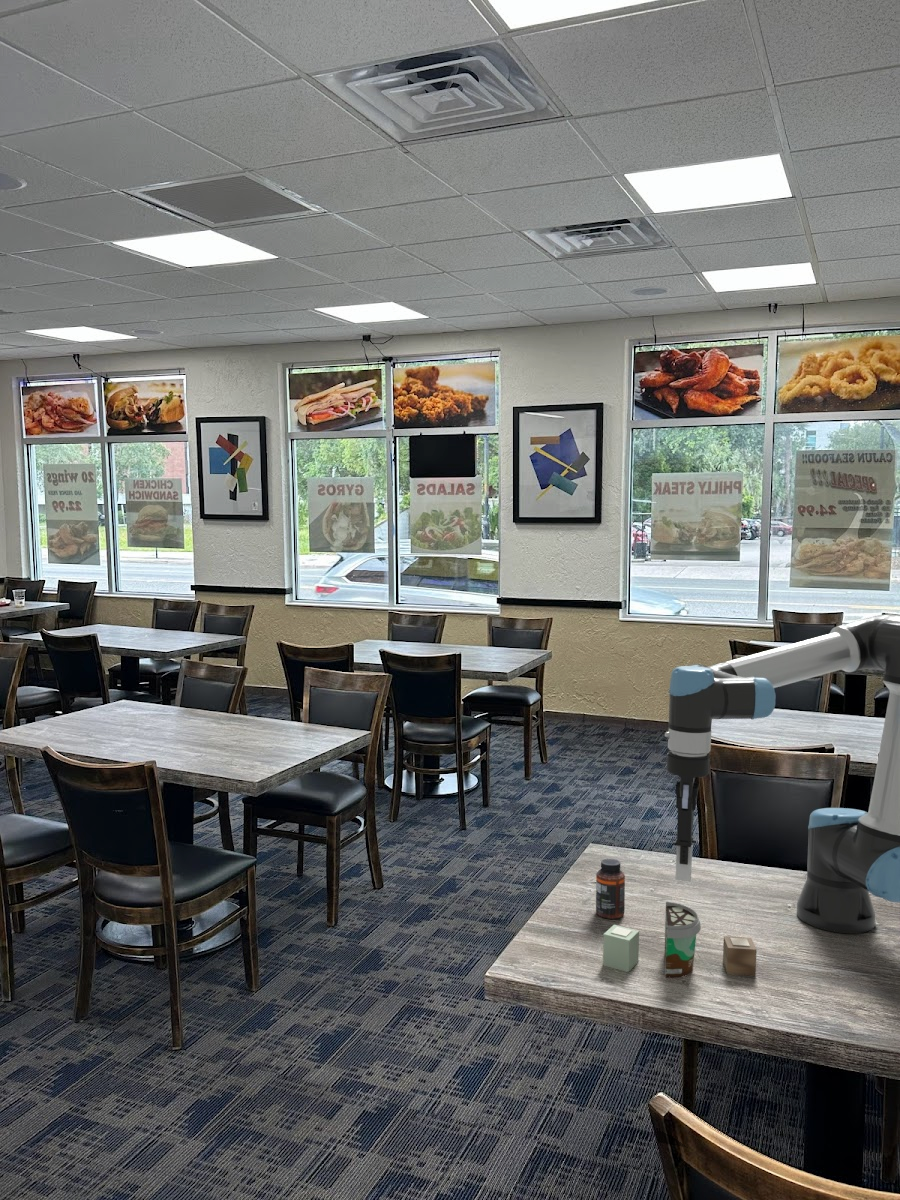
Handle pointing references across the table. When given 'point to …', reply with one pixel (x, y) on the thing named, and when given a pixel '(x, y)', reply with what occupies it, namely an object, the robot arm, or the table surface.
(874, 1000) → the table surface
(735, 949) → the walnut block
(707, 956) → the table surface
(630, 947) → the sage block
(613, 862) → the supplement bottle
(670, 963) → the food container
